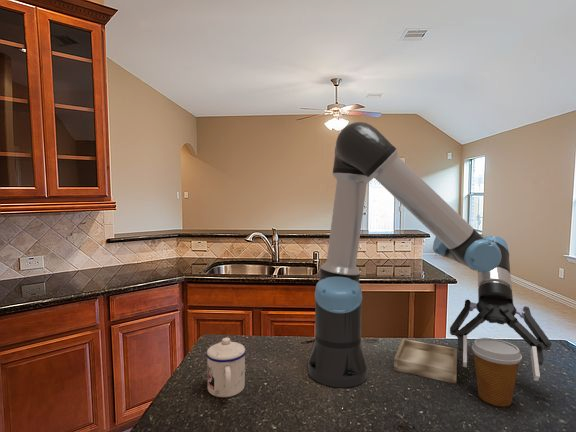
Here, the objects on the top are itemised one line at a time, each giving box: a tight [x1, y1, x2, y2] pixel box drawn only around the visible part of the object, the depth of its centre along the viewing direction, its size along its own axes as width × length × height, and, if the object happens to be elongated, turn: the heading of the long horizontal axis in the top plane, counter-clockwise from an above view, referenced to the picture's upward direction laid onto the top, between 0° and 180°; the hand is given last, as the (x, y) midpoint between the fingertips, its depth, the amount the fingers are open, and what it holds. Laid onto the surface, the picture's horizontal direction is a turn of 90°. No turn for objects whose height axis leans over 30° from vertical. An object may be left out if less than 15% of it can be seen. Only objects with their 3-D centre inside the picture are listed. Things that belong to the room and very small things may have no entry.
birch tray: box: [393, 338, 458, 385], centre depth 92 cm, size 15×15×3 cm
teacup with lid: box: [205, 337, 247, 398], centre depth 78 cm, size 12×9×12 cm
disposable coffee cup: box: [471, 337, 523, 407], centre depth 76 cm, size 10×10×12 cm
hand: (499, 371), depth 76 cm, fingers open, 13 cm apart
